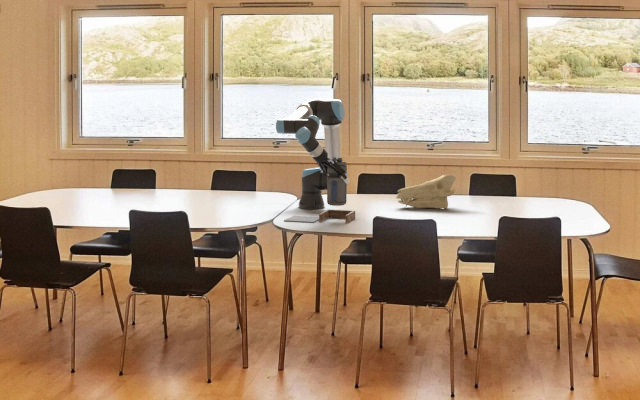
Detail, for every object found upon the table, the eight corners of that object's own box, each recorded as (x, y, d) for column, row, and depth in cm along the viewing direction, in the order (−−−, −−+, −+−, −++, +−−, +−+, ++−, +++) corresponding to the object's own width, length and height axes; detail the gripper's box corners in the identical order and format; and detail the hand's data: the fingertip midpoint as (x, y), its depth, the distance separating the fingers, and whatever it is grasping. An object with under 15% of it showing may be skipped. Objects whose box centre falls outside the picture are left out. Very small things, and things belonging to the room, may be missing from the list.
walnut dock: (327, 216, 405) (327, 209, 405) (354, 218, 401) (355, 210, 401) (319, 221, 388) (319, 214, 388) (347, 223, 384) (347, 215, 384)
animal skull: (457, 209, 440) (458, 175, 437) (398, 209, 436) (399, 175, 434) (450, 206, 455) (451, 173, 452) (393, 206, 452) (393, 173, 449)
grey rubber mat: (294, 216, 405) (294, 215, 405) (322, 218, 401) (322, 216, 401) (283, 221, 388) (283, 220, 388) (313, 222, 384) (313, 221, 384)
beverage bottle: (349, 203, 398) (350, 156, 395) (343, 206, 386) (343, 157, 383) (331, 202, 401) (331, 156, 398) (324, 205, 389) (324, 157, 386)
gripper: (301, 156, 391) (325, 184, 402) (326, 159, 372) (351, 189, 383) (309, 146, 393) (333, 174, 404) (335, 148, 374) (359, 178, 385)
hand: (342, 181), depth 394 cm, fingers closed on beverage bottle, 10 cm apart
